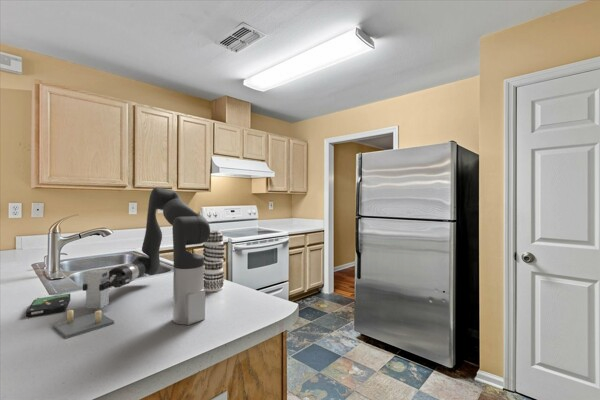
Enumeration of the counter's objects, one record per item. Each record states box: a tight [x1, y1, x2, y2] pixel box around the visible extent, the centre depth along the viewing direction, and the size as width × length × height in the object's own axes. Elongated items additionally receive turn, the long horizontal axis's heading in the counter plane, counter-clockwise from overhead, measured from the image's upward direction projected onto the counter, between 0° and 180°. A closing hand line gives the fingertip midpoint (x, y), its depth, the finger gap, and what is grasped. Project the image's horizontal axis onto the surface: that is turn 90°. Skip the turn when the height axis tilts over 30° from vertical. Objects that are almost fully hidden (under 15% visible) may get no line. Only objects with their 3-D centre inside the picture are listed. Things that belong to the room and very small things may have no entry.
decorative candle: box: [202, 229, 226, 292], centre depth 126 cm, size 9×9×25 cm
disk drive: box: [25, 293, 71, 319], centre depth 102 cm, size 10×3×15 cm
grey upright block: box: [85, 269, 110, 309], centre depth 100 cm, size 5×4×12 cm
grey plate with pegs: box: [52, 309, 115, 339], centre depth 89 cm, size 12×12×4 cm
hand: (92, 287), depth 97 cm, fingers closed on grey upright block, 5 cm apart
